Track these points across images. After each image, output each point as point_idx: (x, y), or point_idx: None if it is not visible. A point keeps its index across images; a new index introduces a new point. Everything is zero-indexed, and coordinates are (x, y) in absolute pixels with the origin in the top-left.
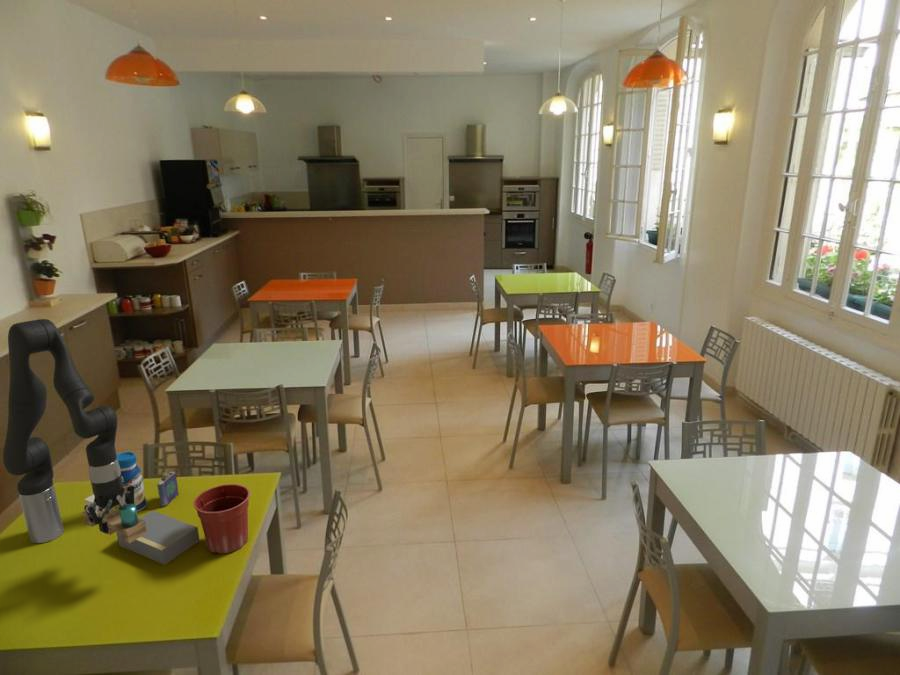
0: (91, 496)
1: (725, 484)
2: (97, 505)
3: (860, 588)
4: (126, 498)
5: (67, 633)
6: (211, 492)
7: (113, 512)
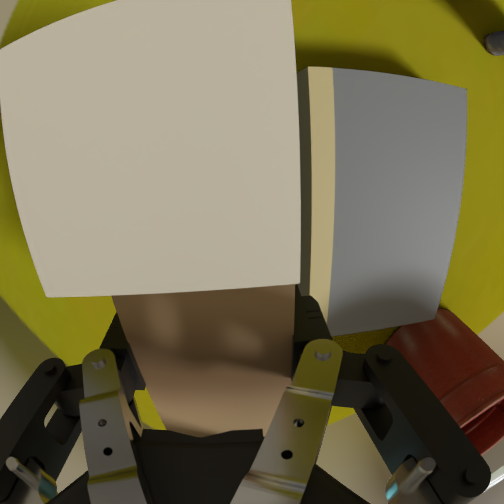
0: (110, 32)
1: (491, 478)
2: (70, 490)
3: None
4: (388, 398)
5: (41, 322)
6: None
7: (246, 318)
